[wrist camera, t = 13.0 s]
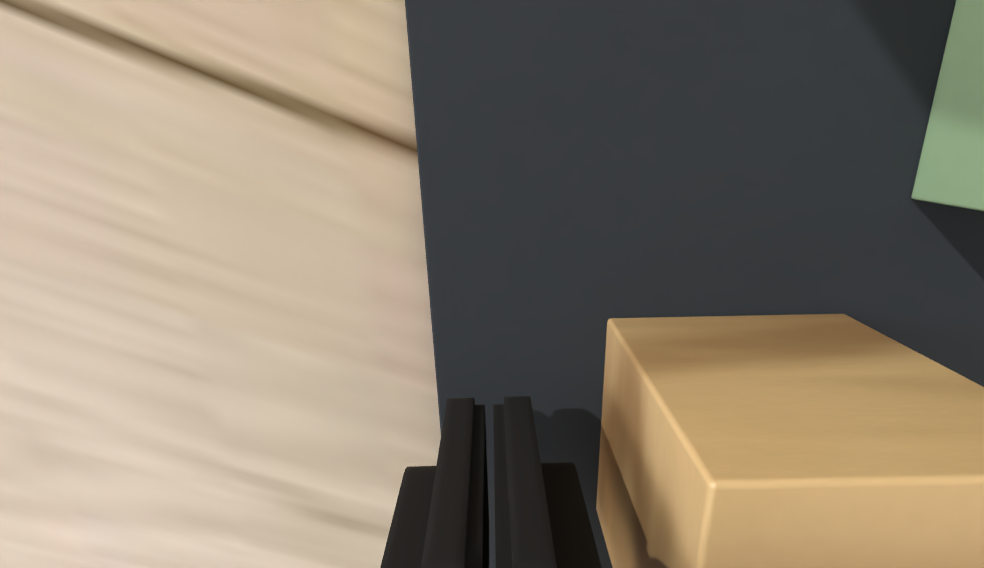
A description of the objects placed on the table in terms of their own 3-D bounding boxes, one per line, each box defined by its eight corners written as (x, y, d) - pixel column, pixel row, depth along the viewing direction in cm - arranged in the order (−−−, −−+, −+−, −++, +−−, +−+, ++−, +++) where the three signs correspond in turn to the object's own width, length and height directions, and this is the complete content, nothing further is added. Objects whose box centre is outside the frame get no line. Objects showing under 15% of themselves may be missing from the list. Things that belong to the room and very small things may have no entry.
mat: (391, -188, 8) (388, -200, 7) (1523, -236, 8) (1563, -250, 7) (478, 878, 17) (479, 891, 17) (991, 861, 17) (1000, 874, 17)
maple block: (606, 316, 10) (710, 485, 5) (844, 312, 10) (1159, 475, 5) (595, 508, 12) (668, 771, 7) (801, 504, 12) (1016, 763, 7)
